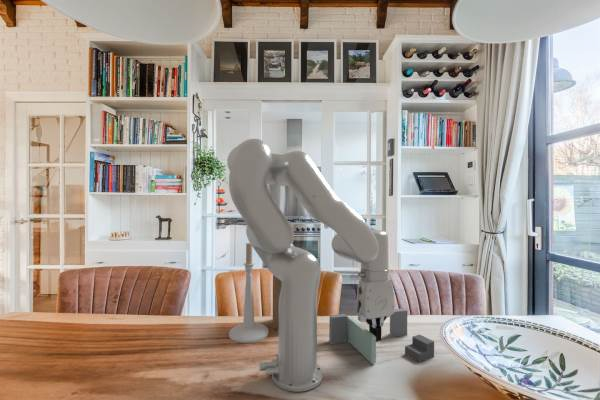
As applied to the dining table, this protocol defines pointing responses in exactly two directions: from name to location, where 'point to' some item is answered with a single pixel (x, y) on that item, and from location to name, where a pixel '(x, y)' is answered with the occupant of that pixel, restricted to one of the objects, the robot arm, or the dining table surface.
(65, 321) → the dining table surface
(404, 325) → the door frame
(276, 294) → the wooden block
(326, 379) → the dining table surface
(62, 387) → the dining table surface
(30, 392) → the dining table surface
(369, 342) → the door
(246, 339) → the candlestick
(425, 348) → the dark grey stepped block
